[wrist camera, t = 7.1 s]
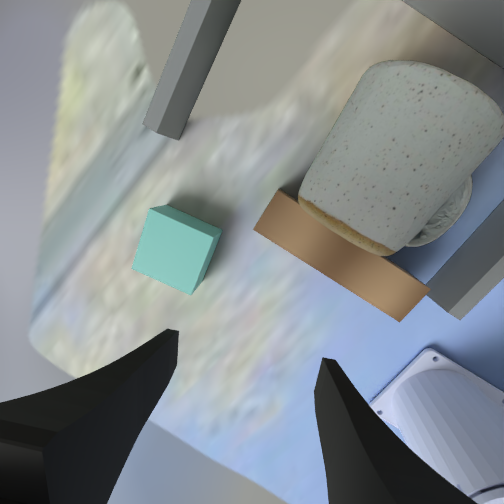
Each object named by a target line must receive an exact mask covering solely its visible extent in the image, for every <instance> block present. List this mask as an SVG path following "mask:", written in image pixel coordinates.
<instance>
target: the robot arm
mask: <svg viewBox="0 0 504 504" xmlns="http://www.w3.org/2000/svg"><path fill="white" fill-rule="evenodd" d="M178 337H179V331H176V330H171V329H166V330H165V331H163V332H161V333H160V334H158V335H157V336H155V337H154V338H152V339H151V340H149V341H148V342H146V343H145V344H143V345H141V346H140V347H138V348H137V349H135V350H134V351H132V352H130V353H128V354H127V355H125V356H123V357H121V358H120V359H118V360H116V361H114V362H112V363H110V364H109V365H107V366H105V367H102V368H100V369H98V370H96V371H94V372H92V373H90V374H87V375H85V376H82V377H80V378H77V379H75V380H73V381H70V382H68V383H65V384H62V385H59V386H56V387H54V388H51V389H48V390H45V391H41V392H38V393H35V394H32V395H28V396H24V397H21V398H17V399H13V400H9V401H5V402H1V403H0V504H107V502H108V500H109V498H110V495H111V493H112V491H113V489H114V486H115V484H116V482H117V480H118V478H119V475H120V473H121V471H122V468H123V467H124V464H125V462H126V460H127V458H128V456H129V454H130V452H131V450H132V448H133V445H134V443H135V441H136V439H137V437H138V435H139V433H140V432H141V430H142V428H143V426H144V425H145V422H146V421H147V420H148V418H149V416H150V414H151V413H152V411H153V409H154V408H155V406H156V404H157V403H158V401H159V399H160V398H161V396H162V394H163V392H164V391H165V389H166V387H167V386H168V384H169V382H170V379H171V377H172V375H173V373H174V370H175V368H176V366H177V356H178ZM435 356H437V357H436V358H433V357H435ZM314 398H315V413H316V419H317V425H318V431H319V436H320V442H321V447H322V453H323V459H324V464H325V471H326V478H327V488H328V499H329V504H504V392H503V391H501V390H500V389H498V388H496V387H495V386H493V385H491V384H490V383H488V382H486V381H485V380H483V379H481V378H480V377H478V376H476V375H475V374H473V373H472V372H470V371H468V370H467V369H465V368H463V367H462V366H460V365H458V364H457V363H455V362H453V361H452V360H450V359H449V358H447V357H445V356H444V355H442V354H440V353H439V352H437V351H435V350H434V349H432V348H427V349H425V350H423V351H422V352H421V353H420V354H419V355H418V356H417V357H416V358H415V359H414V360H413V361H412V362H411V363H410V364H409V365H408V366H407V367H406V368H405V369H404V370H403V371H402V372H401V373H400V374H399V375H398V376H397V377H396V378H395V379H394V380H393V381H392V382H391V383H390V384H389V385H388V386H387V387H386V388H385V389H384V390H383V391H382V392H381V393H380V394H379V395H378V396H377V397H376V398H375V399H374V400H373V401H372V402H371V403H370V404H369V405H368V403H367V402H366V401H365V400H364V398H363V397H362V396H361V395H360V393H359V392H358V391H357V389H356V388H355V387H354V385H353V384H352V383H351V381H350V380H349V378H348V377H347V376H346V374H345V373H344V371H343V370H342V368H341V367H340V366H339V364H338V363H337V361H336V360H334V359H328V358H322V362H321V366H320V370H319V374H318V378H317V382H316V386H315V390H314ZM379 410H380V411H379ZM379 417H380V418H381V419H383V420H385V421H386V422H388V423H390V424H391V425H393V426H395V427H397V428H398V429H400V431H401V433H402V435H403V437H404V440H405V442H406V444H407V445H406V444H405V443H404V442H403V441H402V440H401V439H400V438H398V437H397V436H396V435H395V433H394V432H393V431H392V430H391V429H390V428H389V427H388V426H387V425H386V424H385V423H384V422H383V421H382V420H381V419H380V418H379Z"/></svg>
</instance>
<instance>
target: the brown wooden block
mask: <svg viewBox="0 0 504 504" xmlns="http://www.w3.org/2000/svg"><path fill="white" fill-rule="evenodd" d="M253 230H255V231H256V232H258V233H260V234H261V235H263V236H264V237H266V238H267V239H269V240H271V241H272V242H274V243H275V244H277V245H278V246H280V247H282V248H283V249H285V250H286V251H288V252H290V253H291V254H293V255H294V256H296V257H297V258H299V259H301V260H302V261H304V262H305V263H307V264H308V265H310V266H312V267H313V268H315V269H316V270H318V271H320V272H321V273H323V274H324V275H326V276H327V277H329V278H331V279H332V280H334V281H335V282H337V283H338V284H340V285H342V286H343V287H345V288H346V289H348V290H350V291H351V292H353V293H354V294H356V295H357V296H359V297H361V298H362V299H364V300H365V301H367V302H368V303H370V304H372V305H373V306H375V307H376V308H378V309H380V310H381V311H383V312H384V313H386V314H387V315H389V316H391V317H392V318H394V319H395V320H397V321H398V322H400V321H401V320H402V319H403V318H404V317H405V316H406V315H407V314H408V313H409V312H410V311H411V310H412V309H413V308H414V307H415V306H416V305H417V304H418V303H419V301H420V300H421V299H422V298H423V297H424V296H425V295H426V294H427V293H428V292H429V291H430V290H431V289H430V288H429V287H427V286H426V285H425V284H423V283H422V282H421V281H419V280H418V279H417V278H415V277H414V276H413V275H411V274H410V273H409V272H407V271H406V270H404V269H403V268H401V267H400V266H398V265H396V264H395V263H393V262H392V261H390V260H389V259H387V258H386V257H384V256H378V255H375V254H373V253H370V252H368V251H366V250H364V249H362V248H360V247H358V246H356V245H355V244H353V243H351V242H349V241H347V240H346V239H344V238H343V237H341V236H340V235H338V234H336V233H335V232H333V231H331V230H330V229H328V228H327V227H325V226H324V225H322V224H321V223H320V222H318V221H317V220H315V219H314V218H313V217H311V216H310V215H309V214H308V213H306V212H305V211H304V210H303V209H302V208H301V207H300V204H299V201H297V200H296V199H294V198H293V197H291V196H290V195H288V194H286V193H285V192H283V191H282V190H280V189H278V190H277V192H276V194H275V195H274V197H273V198H272V200H271V201H270V203H269V205H268V206H267V208H266V209H265V211H264V213H263V214H262V216H261V217H260V219H259V221H258V222H257V224H256V225H255V227H254V229H253Z"/></svg>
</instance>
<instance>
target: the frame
mask: <svg viewBox="0 0 504 504" xmlns="http://www.w3.org/2000/svg"><path fill="white" fill-rule="evenodd" d="M402 1H404V2H405V3H407V4H408V5H410V6H411V7H413V8H414V9H416V10H417V11H418V12H420V13H421V14H423V15H424V16H426V17H427V18H429V19H430V20H432V21H433V22H435V23H436V24H438V25H439V26H441V27H442V28H444V29H445V30H447V31H448V32H450V33H451V34H453V35H454V36H456V37H457V38H459V39H460V40H462V41H463V42H465V43H466V44H468V45H469V46H471V47H472V48H474V49H475V50H476V51H478V52H479V53H481V54H482V55H484V56H485V57H487V58H488V59H490V60H491V61H493V62H494V63H496V64H497V65H499V66H500V67H502V68H503V69H504V0H402ZM240 2H241V0H191V2H190V5H189V7H188V10H187V12H186V15H185V17H184V20H183V22H182V25H181V27H180V30H179V32H178V35H177V37H176V40H175V43H174V45H173V48H172V50H171V53H170V55H169V58H168V60H167V63H166V66H165V68H164V70H163V73H162V76H161V78H160V81H159V83H158V86H157V88H156V91H155V93H154V96H153V98H152V101H151V103H150V106H149V108H148V111H147V113H146V116H145V118H144V121H143V125H145V126H146V127H148V128H149V129H151V130H153V131H154V132H156V133H158V134H161V135H164V136H167V137H170V138H173V139H176V140H179V138H180V136H181V134H182V131H183V129H184V127H185V125H186V122H187V120H188V118H189V116H190V113H191V111H192V109H193V107H194V104H195V102H196V100H197V98H198V96H199V93H200V91H201V89H202V86H203V84H204V82H205V80H206V78H207V75H208V73H209V71H210V69H211V66H212V64H213V62H214V60H215V58H216V55H217V53H218V51H219V49H220V46H221V44H222V42H223V40H224V37H225V35H226V33H227V31H228V29H229V26H230V24H231V22H232V20H233V17H234V15H235V13H236V11H237V8H238V6H239V4H240ZM503 278H504V200H503V201H502V202H501V203H500V204H499V206H498V207H497V208H496V209H495V210H494V211H493V212H492V213H491V214H490V215H489V216H488V218H487V219H486V220H485V221H484V222H483V223H482V224H481V225H480V226H479V227H478V229H477V230H476V231H475V232H474V233H473V234H472V235H471V236H470V237H469V238H468V239H467V241H466V242H465V243H464V244H463V245H462V246H461V247H460V248H459V249H458V250H457V251H456V253H455V254H454V255H453V256H452V257H451V258H450V259H449V260H448V261H447V262H446V264H445V265H444V266H443V267H442V268H441V269H440V270H439V271H438V272H437V273H436V274H435V276H434V277H433V278H432V279H431V280H430V281H429V282H428V283H427V284H426V286H427V287H429V288H430V289H431V290H430V291H429V292H428V293H427V294H426V295H427V296H428V297H430V298H431V299H432V300H433V301H434V302H436V303H437V304H438V305H439V306H440V307H442V308H443V309H444V310H445V311H446V312H448V313H449V314H451V315H452V316H454V317H456V318H457V319H459V320H461V319H462V318H463V317H464V316H465V315H466V314H467V313H468V312H469V311H470V310H471V309H472V308H473V307H474V306H475V305H476V304H477V303H478V302H479V301H481V300H482V299H483V298H484V297H485V296H486V295H487V294H488V293H489V292H490V291H491V290H492V289H493V288H494V287H495V286H496V285H497V284H498V283H499V282H500V281H501V280H502V279H503Z"/></svg>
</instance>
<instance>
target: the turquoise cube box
mask: <svg viewBox="0 0 504 504" xmlns="http://www.w3.org/2000/svg"><path fill="white" fill-rule="evenodd" d="M222 231H223V230H222V229H219V228H217V227H215V226H213V225H210V224H208V223H206V222H204V221H201V220H199V219H197V218H195V217H193V216H190V215H188V214H186V213H184V212H181V211H179V210H177V209H175V208H173V207H170V206H168V205H163V206H159V207H154V208H150V209H149V211H148V215H147V218H146V221H145V225H144V228H143V232H142V235H141V238H140V242H139V245H138V248H137V252H136V255H135V259H134V262H133V265H132V269H133V270H136V271H138V272H140V273H142V274H144V275H147V276H149V277H151V278H153V279H156V280H158V281H160V282H162V283H164V284H167V285H169V286H171V287H173V288H176V289H178V290H180V291H182V292H185V293H187V294H189V295H192V294H193V292H194V291H195V290H196V289H197V287H198V286H199V285H200V284H201V282H202V281H203V278H204V276H205V273H206V271H207V268H208V266H209V263H210V261H211V258H212V256H213V253H214V251H215V248H216V246H217V243H218V241H219V238H220V236H221V233H222Z"/></svg>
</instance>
